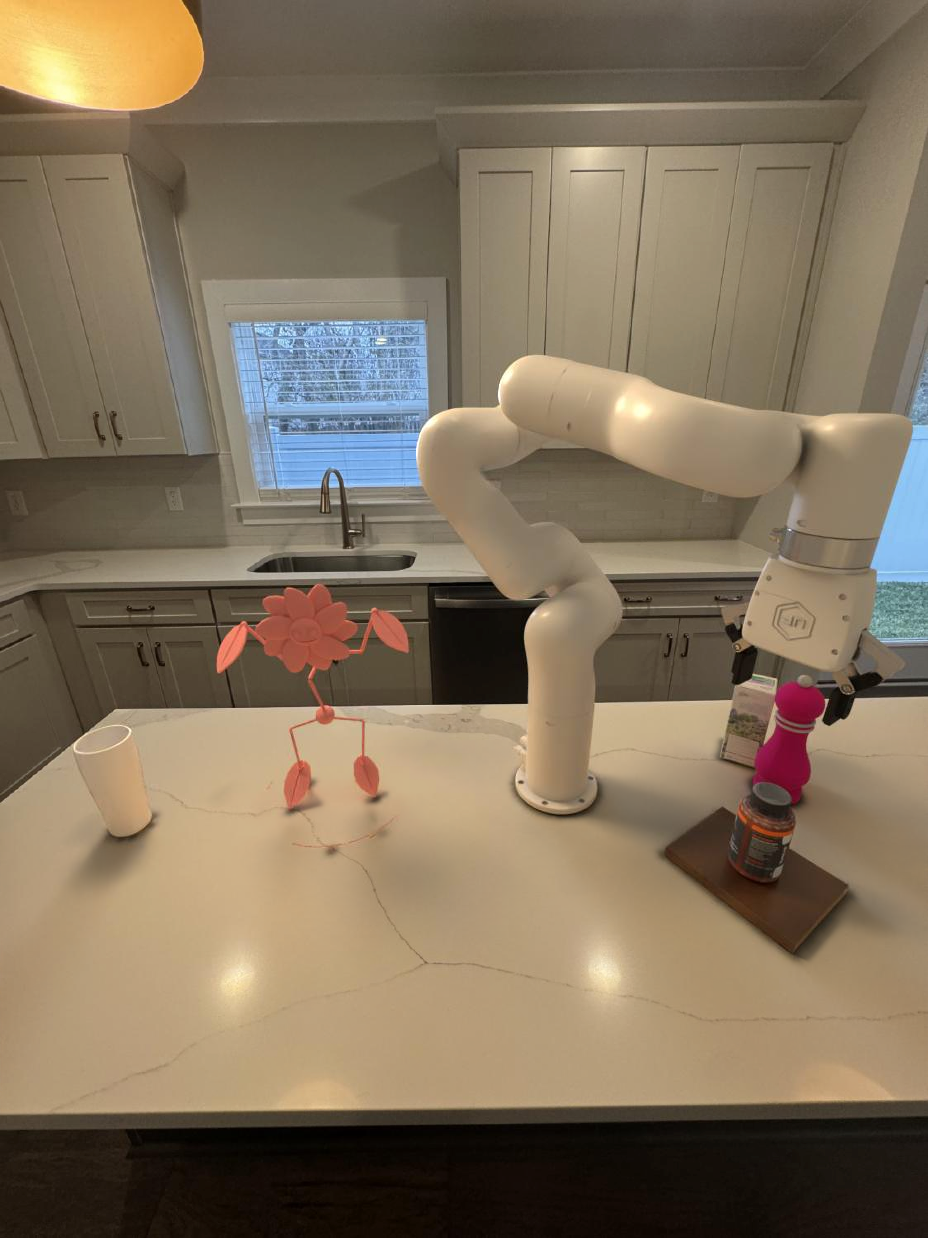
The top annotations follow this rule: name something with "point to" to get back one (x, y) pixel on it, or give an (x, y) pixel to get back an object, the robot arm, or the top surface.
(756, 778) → the pepper mill
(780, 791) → the supplement bottle
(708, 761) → the top surface
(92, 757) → the drinking glass
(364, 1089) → the top surface
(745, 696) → the syrup box
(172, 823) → the top surface
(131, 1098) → the top surface
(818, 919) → the cutting board
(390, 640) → the figurine
